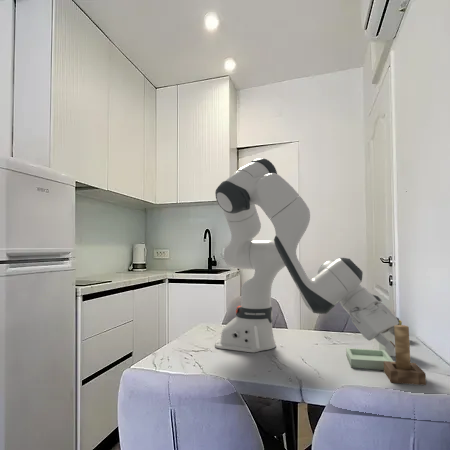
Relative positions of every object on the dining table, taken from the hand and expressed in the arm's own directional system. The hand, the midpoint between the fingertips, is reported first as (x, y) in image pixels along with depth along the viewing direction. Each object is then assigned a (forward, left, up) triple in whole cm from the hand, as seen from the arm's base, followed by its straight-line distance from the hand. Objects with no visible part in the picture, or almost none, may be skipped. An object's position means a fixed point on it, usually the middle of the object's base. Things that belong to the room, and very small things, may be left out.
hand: (398, 345), depth 95 cm
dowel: (+1, 0, -9) cm, 9 cm away
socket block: (+1, 0, -9) cm, 9 cm away
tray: (-6, +12, -9) cm, 16 cm away
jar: (+2, +24, -9) cm, 26 cm away
